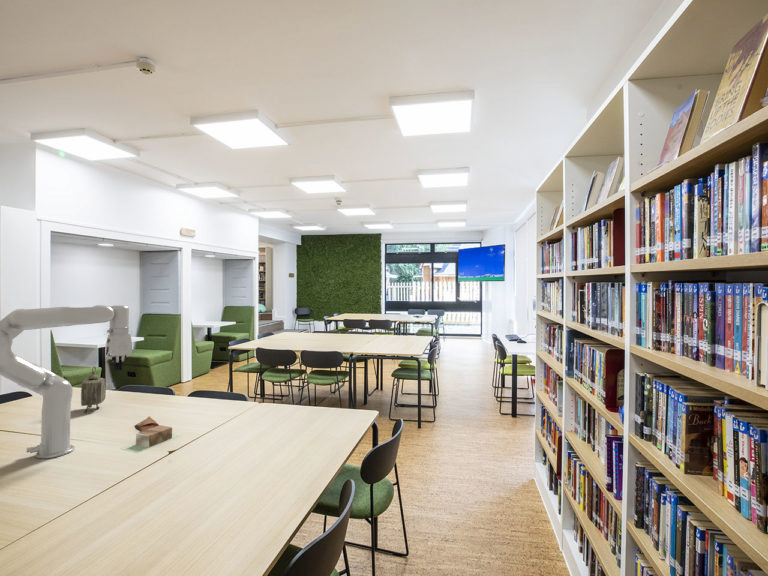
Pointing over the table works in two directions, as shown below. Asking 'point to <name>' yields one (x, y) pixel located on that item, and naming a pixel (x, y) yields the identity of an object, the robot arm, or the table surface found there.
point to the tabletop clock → (93, 391)
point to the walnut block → (153, 436)
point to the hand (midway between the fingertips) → (118, 370)
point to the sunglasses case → (146, 424)
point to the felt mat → (141, 448)
